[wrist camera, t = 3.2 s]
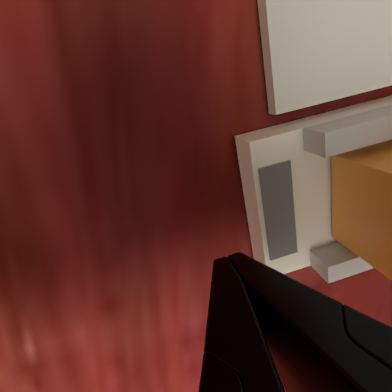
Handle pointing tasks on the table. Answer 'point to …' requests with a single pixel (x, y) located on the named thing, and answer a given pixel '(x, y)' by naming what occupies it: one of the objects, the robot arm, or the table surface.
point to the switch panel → (304, 186)
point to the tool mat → (324, 50)
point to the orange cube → (364, 203)
